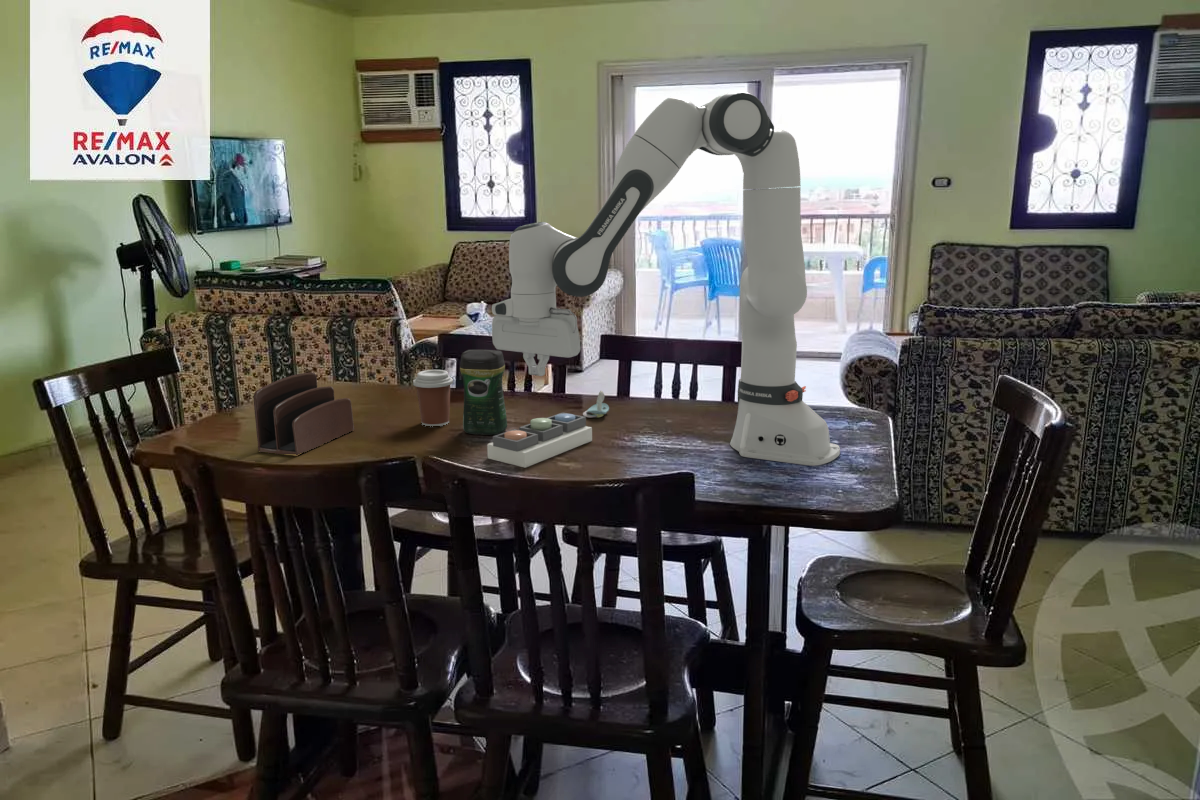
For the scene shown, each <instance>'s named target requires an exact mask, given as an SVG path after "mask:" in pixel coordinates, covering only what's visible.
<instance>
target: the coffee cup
mask: <svg viewBox="0 0 1200 800" xmlns="http://www.w3.org/2000/svg"><path fill="white" fill-rule="evenodd" d="M416 375H417V376H416V377H415V379H413V380H412V381H413V382H412V383H413V386H414V387H416V392H417V394H416V395H417V400H418V408H419V415H420V421H421V423H422V424H421V425H422V426H423V425H425V426H424V427H426V426H430V427H429V428H434V427H433V426H440V427H444V426H443V425H445V426H447V425H448V423H449V424H450V412H451V411H450V410H451V409H450V407H451V385H452V384H454V379H453V378H452V377H451V376H450V375H449V372H448V371H447V370H445V369H444V370H443V369H428V370H427V369H426V370H422V371H419V372H417V373H416ZM446 424H447V425H446ZM431 426H432V427H431Z"/></svg>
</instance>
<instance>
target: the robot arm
mask: <svg viewBox="0 0 1200 800" xmlns="http://www.w3.org/2000/svg"><path fill="white" fill-rule="evenodd" d="M696 150H701V151H703V152H705V153H708V154H711V155H715V156H733V155H735V157H737V159H738V160H739V163H740V165H741V169H742V173H743V177H742V178H743V180H742V181H743V182H742V183H743V184H742V189H743V191H742V192H743V193H742V195H743V198H742V199H743V201H742V202H743V205H742V206H743V209H742V211H743V234H744V241H745V251H746V262H747V266H746V267H745V268H744V270H743V272H742V273H741V277H740V281H739V283H740V284H739V286H740V291H739V293H740V295H739V296H740V297H739V298H740V299H739V300H740V325H741V358H740V359H741V360H740V361H741V362H740V364H741V365H740V378H739V379H738V385H737V405H738V409H737V417H736V421H735V426H734V430H733V434H732V436H731V440H730V443H729V444H730V446H731V448H733V449H734V450H736V451H737V452H739V455H740V456H741V457H744V458H751V459H758V460H767V461H772V462H773V461H775V462H781V463H789V464H796V465H801V466H811V467H812V466H821V465H825V464H827V463H830V462H832V461H834V460H835V459H837V458H838V457H839V456H840V454H841V448H840V446H839V445H838V444H835V443H831V442H830V440H831V439H830V431H829V425H828V423H827V422H826V421H825V419H823V418H822V417H821V416H820V415H819V414H818V413H816V412H815V411H814V410H813V409H812V408H811V407H810V406H809V405H808V404H806V402H804V401H803V397H804V393H805V392H807V390H806V389H807V386H805V385H804V386H802V387H801V386H800V385H799V384H798V383H797V381H796V366H797V348H798V347H797V346H798V344H797V343H798V342H797V339H796V338H797V337H796V328H795V327H796V326H795V315H796V314H797V313H798V312H799V311H801V309H802V307H803V306H804V305H805V303H806V300H807V296H808V287H807V279H806V268H805V257H804V256H805V255H804V247H803V239H802V229H801V226H802V225H801V201H802V199H801V170H800V169H801V168H800V159H799V152H798V147H797V142H796V140H795V138H794V136H793V135H792V134H791V133H789V132H788V131H787V130H784V129H780V128H775V126H774V123H773V121H772V120H771V118H770V116H769V115H768V113H767V111H766V109H765V106H764V105H763V103H762V102H761V100H760V99H759V98H758V97H757V96H756V95H754V94H753V93H750V92H747V91H743V90H734V91H729V92H727V93H724V94H720V95H718V96H716V97H715V98H713V99H712V100H711V101H709V102H707V103H705V104H703V105H701V106H698V105H695V104H694V103H693V102H691V101H690V100H688V99H686V98H683V97H680V96H670V97H667V98H666V99H664V100H663V101H662V102H661V103H660V104H658V106H656V107H655V108H654V109H653V111H651V113H650V114H649V115H648V116H647V117H646V118H645V119H644V121H643V122H642V123H641V124H640V126H639V127H638V128H637V130H636V131H635V132H634V134H633V135H632V136H631V138H630V139H629V141H628V142H627V143H626V145H625V147H624V149H623V151H622V152H621V154H620V156H619V158H618V160H617V163H616V166H615V170H614V171H615V172H614V181H613V185H612V188H611V192H610V194H609V195H608V198H607V199H606V200H605V203H604V204H603V206H602V207H601V208H600V210H599V211H598V213H597V214H596V216H595V217H594V218H593V219H592V221H591V223H590V224H589V225H588V227H587V229H586V230H585V231H584V233H583V234H581V235H580V236H579V237H577V236H573V235H571V234H568V233H565V232H563V231H561V230H559V229H558V228H555V227H553V226H552V225H551V224H550V223H549V222H546V221H538V222H532V223H527V224H524V225H522V226H521V225H519V226H518V227H517V228H515V229H514V230H513V231H512V233H511V235H510V238H509V243H508V244H509V245H508V246H509V247H508V266H509V267H508V268H509V273H510V276H511V288H510V298H508V299H505V300H502V301H500V302H499V301H498V302H496V303H493V304H492V305H491V312H492V314H493V318H492V320H491V336H492V337H491V338H492V344H493V346H494V348H495V349H496V350H497V351H510V352H517V353H522V354H523V355H522V357H523V359H524V361H525V363H526V365H527V367H528V375H531V376H538V377H539V376H540V377H543V376H545V375H546V366H547V364H548V363H549V360H550V357H559V358H568V359H569V358H572V357H577V356H578V355H579V354H580V352H581V339H580V333H579V327H578V317H577V316H576V314H575V313H574V312H573V311H571V309H568V308H557V297H556V296H557V295H556V292H557V291H556V288H557V287H558V288H559V289H560V290H561V291H562V292H563V293H565V294H567V295H569V296H571V297H576V298H582V297H587V296H590V295H593V294H594V293H596V292H597V291H599V289H600V288H601V287H602V286H603V285H604V283H605V282H606V281H605V280H606V279H607V274H608V271H609V266H610V261H611V258H612V254H613V253H614V251H615V249H616V248H617V247H618V245H619V244H620V242H621V241H622V239H623V237H624V236H625V235H626V233H627V232H628V231H629V229H630V227H631V226H632V225H633V224H634V222H635V221H636V219H637V218H638V216H639V215H640V213H641V212H643V210H644V209H645V208H646V207H647V206H648V205H649V204H650V203H651V202H652V201H654V199H656V197H657V196H658V195H660V193H662V191H664V189H666V187H667V186H668V185H669V184H670V183H671V181H672V180H673V179H674V178H675V177H676V176H677V174H678V173H679V172H680V170H681V168H682V167H683V165H684V164H685V163H686V161H687V160H688V158H689V157H690V156H691V155H692V154H693V153H694V152H695V151H696ZM536 355H537V357H536ZM534 357H536V358H537V360H538V364H537V363H536V360H535V358H534Z"/></svg>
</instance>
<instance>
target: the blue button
mask: <svg viewBox="0 0 1200 800" xmlns="http://www.w3.org/2000/svg"><path fill="white" fill-rule="evenodd" d="M557 414H558V415H557ZM557 414H554V415H555V420H557V421H562V422H570V421H573V420H575V415H576V414H572V413H568V414H560V413H557Z"/></svg>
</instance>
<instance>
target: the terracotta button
mask: <svg viewBox="0 0 1200 800" xmlns="http://www.w3.org/2000/svg"><path fill="white" fill-rule="evenodd" d="M518 430H519V429H516V431H510V430H507V431H508V432H507V431H505V432H506V433H505V434H504V437H505V438H507V439H512V440H516V441H517V440H520V439H523V438H525V437H527V435H526V432H524V431H518Z"/></svg>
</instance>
